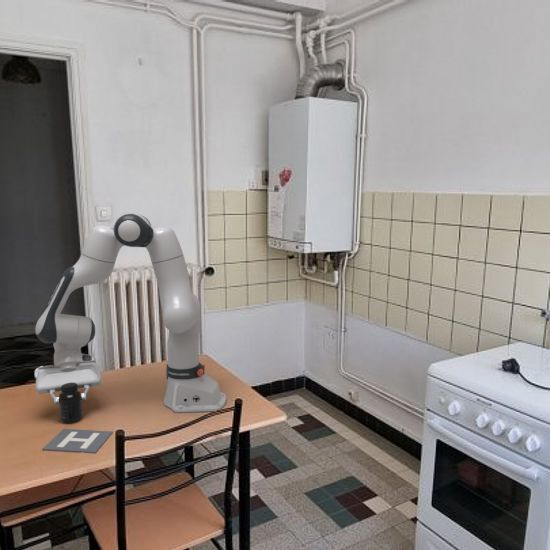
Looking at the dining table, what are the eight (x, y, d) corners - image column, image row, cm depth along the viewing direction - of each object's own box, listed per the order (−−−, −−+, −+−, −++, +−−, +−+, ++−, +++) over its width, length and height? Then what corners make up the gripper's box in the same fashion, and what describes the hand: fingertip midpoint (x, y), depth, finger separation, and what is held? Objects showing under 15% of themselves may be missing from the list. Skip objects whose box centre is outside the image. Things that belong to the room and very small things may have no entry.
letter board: (112, 432, 148) (112, 431, 148) (95, 453, 136) (95, 452, 136) (63, 429, 149) (63, 428, 149) (42, 450, 137) (42, 448, 137)
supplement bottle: (71, 413, 160) (69, 379, 158) (87, 417, 158) (85, 383, 155) (55, 421, 154) (53, 387, 152) (71, 426, 151) (69, 390, 149)
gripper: (33, 362, 154) (34, 402, 147) (99, 355, 163) (103, 392, 156) (35, 371, 159) (35, 410, 152) (99, 363, 168) (102, 400, 160)
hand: (70, 401), depth 154 cm, fingers closed on supplement bottle, 7 cm apart
